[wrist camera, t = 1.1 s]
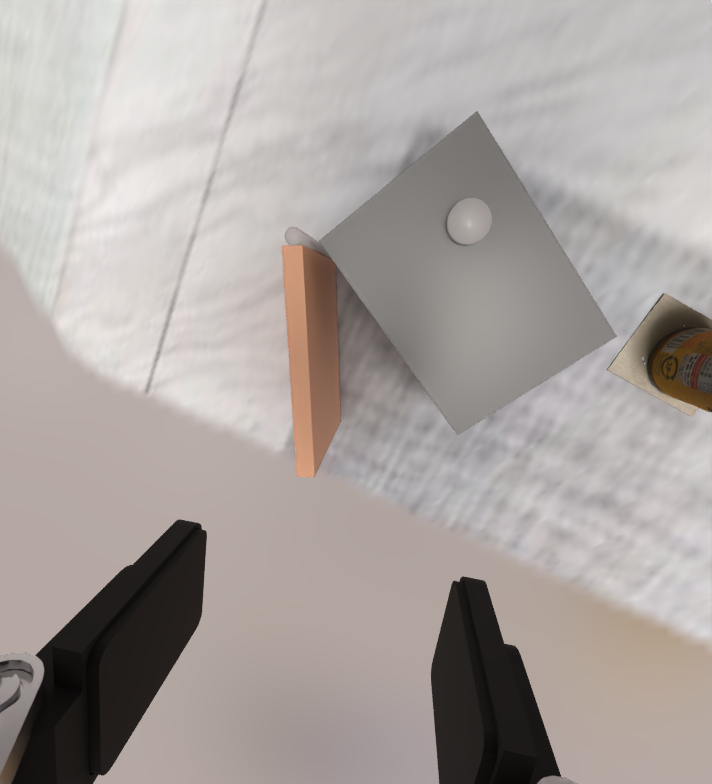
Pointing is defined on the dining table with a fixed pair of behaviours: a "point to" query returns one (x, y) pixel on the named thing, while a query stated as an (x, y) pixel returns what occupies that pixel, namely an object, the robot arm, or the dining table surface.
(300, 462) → the door
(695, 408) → the condiment
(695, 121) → the dining table surface
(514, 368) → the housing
